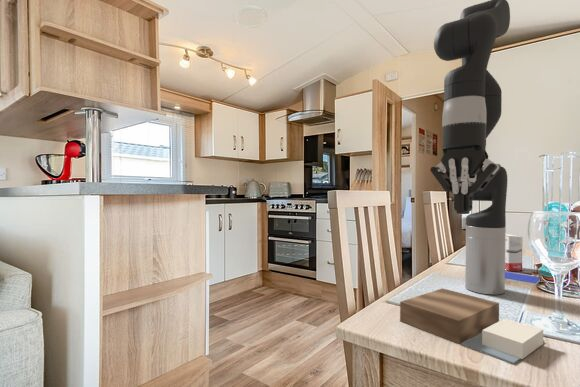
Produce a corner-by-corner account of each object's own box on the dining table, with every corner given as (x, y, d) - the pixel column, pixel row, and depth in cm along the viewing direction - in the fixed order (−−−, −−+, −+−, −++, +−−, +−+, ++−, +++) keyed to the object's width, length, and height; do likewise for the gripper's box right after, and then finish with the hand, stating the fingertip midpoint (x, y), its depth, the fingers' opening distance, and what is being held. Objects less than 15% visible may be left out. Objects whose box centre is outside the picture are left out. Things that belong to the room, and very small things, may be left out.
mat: (495, 326, 65) (495, 325, 65) (544, 342, 58) (544, 340, 58) (461, 344, 57) (461, 342, 57) (513, 364, 51) (513, 362, 51)
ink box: (523, 271, 110) (523, 236, 110) (508, 271, 110) (508, 236, 110) (506, 265, 118) (507, 232, 118) (492, 265, 118) (493, 232, 118)
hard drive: (487, 273, 103) (536, 281, 94) (494, 269, 108) (541, 276, 100) (486, 278, 103) (536, 287, 94) (494, 274, 108) (541, 281, 100)
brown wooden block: (442, 305, 77) (442, 288, 77) (498, 322, 67) (499, 302, 67) (400, 321, 68) (400, 301, 67) (458, 343, 58) (458, 320, 58)
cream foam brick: (543, 329, 57) (543, 343, 57) (504, 318, 62) (504, 331, 62) (522, 343, 52) (522, 359, 52) (482, 330, 57) (482, 344, 57)
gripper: (510, 120, 61) (509, 215, 61) (441, 130, 71) (440, 210, 72) (491, 115, 56) (490, 217, 57) (421, 127, 67) (420, 212, 67)
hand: (462, 213), depth 64 cm, fingers closed
